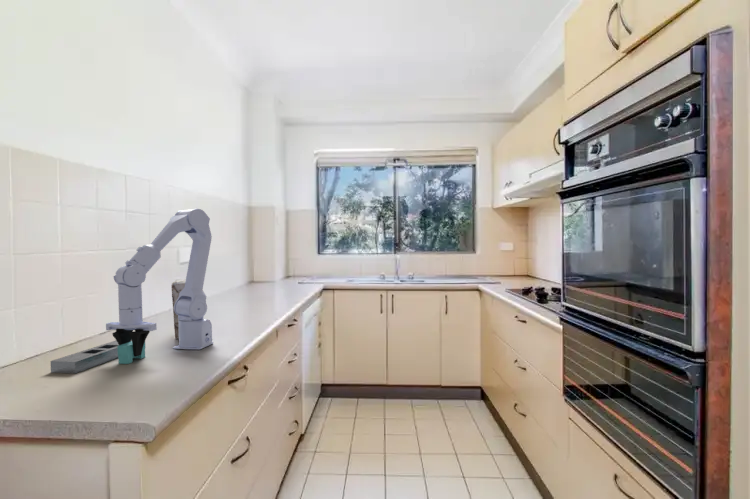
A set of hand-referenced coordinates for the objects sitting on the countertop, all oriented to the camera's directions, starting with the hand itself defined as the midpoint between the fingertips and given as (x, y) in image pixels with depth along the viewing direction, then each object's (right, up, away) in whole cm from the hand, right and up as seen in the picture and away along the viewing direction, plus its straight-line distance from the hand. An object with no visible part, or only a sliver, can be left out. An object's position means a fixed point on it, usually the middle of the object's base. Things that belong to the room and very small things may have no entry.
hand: (132, 355), depth 115 cm
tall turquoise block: (0, -1, 0) cm, 1 cm away
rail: (-10, -2, +2) cm, 10 cm away
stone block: (+1, -1, +30) cm, 30 cm away
